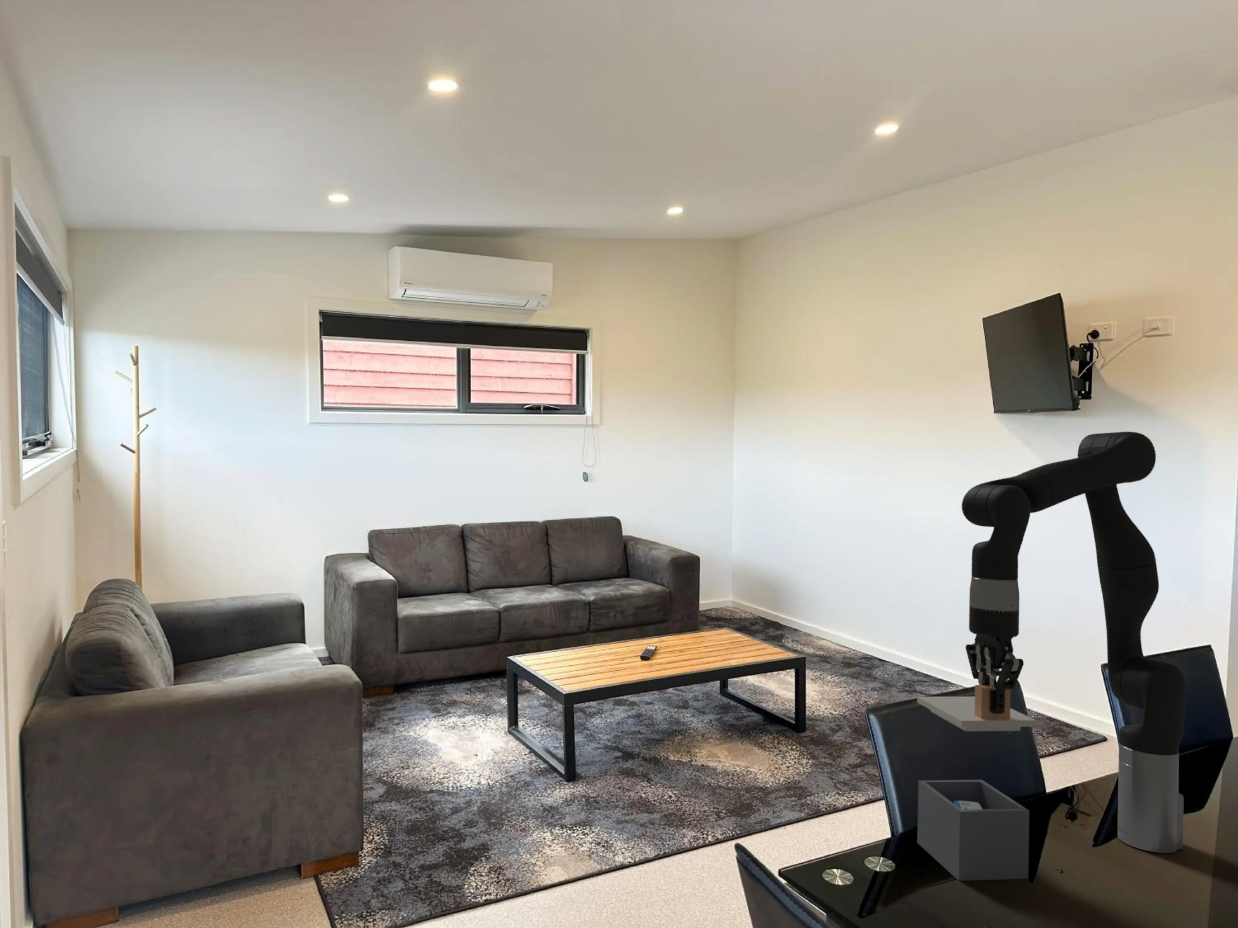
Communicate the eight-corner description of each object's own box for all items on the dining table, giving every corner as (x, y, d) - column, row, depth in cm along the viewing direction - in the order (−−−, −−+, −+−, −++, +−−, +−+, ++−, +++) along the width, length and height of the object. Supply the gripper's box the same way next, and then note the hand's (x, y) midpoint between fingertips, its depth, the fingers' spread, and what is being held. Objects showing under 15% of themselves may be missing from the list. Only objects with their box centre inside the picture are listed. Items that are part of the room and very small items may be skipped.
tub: (980, 841, 148) (981, 779, 148) (1028, 878, 134) (1029, 810, 134) (917, 842, 146) (918, 780, 146) (958, 880, 132) (960, 811, 133)
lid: (985, 708, 149) (985, 668, 149) (1036, 733, 134) (1037, 689, 134) (916, 708, 147) (917, 668, 147) (961, 734, 132) (961, 689, 133)
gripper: (1041, 612, 129) (1039, 722, 129) (991, 599, 143) (990, 699, 142) (996, 611, 128) (994, 723, 128) (951, 599, 142) (949, 699, 142)
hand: (992, 710), depth 135 cm, fingers closed on lid
